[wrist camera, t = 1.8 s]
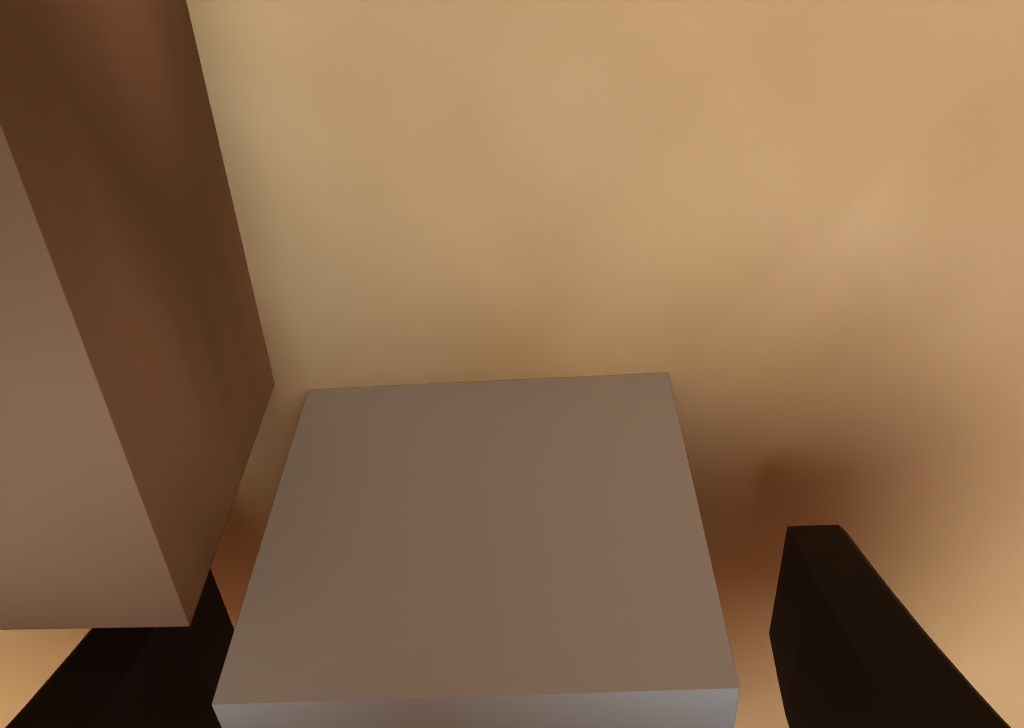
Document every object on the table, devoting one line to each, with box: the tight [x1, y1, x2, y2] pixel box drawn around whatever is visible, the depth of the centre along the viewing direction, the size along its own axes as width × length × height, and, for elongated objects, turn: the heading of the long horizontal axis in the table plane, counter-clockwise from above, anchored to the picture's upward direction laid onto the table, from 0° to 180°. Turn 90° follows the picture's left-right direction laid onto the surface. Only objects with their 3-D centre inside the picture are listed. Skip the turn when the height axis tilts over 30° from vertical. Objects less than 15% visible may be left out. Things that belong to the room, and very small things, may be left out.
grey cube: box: [212, 373, 740, 728], centre depth 11 cm, size 4×4×4 cm
